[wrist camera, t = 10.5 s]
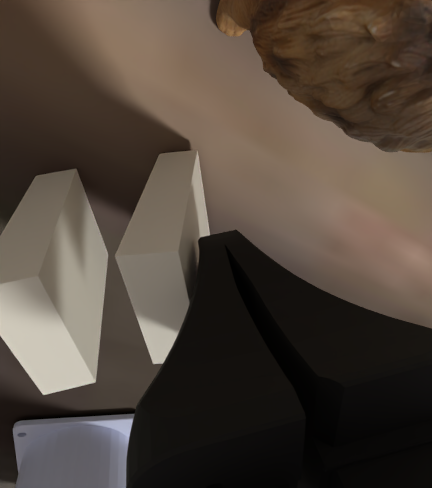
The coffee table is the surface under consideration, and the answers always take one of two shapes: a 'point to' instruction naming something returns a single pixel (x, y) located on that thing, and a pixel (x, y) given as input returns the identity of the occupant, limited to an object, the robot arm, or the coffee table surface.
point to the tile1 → (164, 249)
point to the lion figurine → (348, 62)
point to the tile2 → (53, 283)
